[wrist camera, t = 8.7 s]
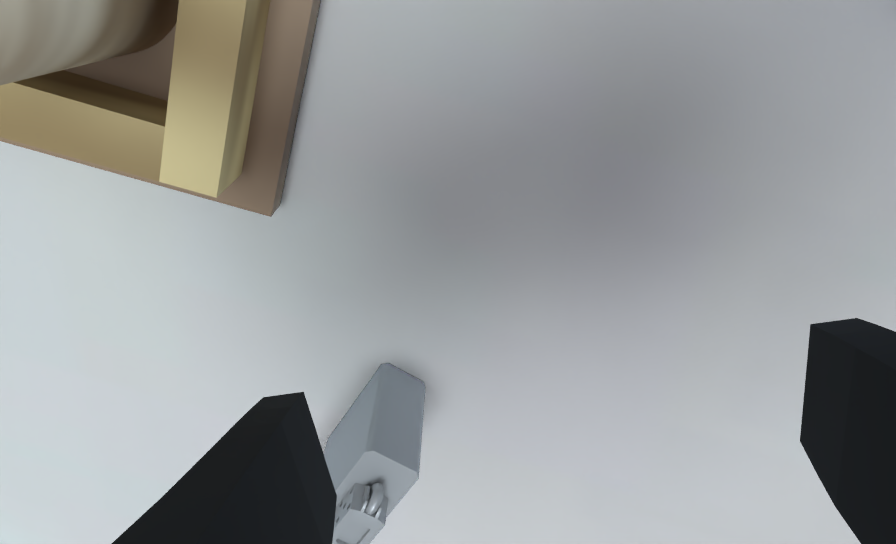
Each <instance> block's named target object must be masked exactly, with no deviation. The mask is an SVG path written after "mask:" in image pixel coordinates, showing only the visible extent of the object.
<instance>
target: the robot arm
mask: <svg viewBox="0 0 896 544" xmlns="http://www.w3.org/2000/svg"><path fill="white" fill-rule="evenodd" d="M800 442H801V444H802V446H803V447H804V449H805V451H806V453H807V455H808V457H809V459H810V461H811V463H812V465H813V467H814V469H815V471H816V473H817V475H818V477H819V478H820V480H821V482H822V484H823V485H824V487H825V489H826V491H827V493H828V494H829V496H830V498H831V500H832V502H833V503H834V505H835V507H836V508H837V510H838V511H839V513H840V514H841V516H842V517H843V518H844V520H845V521H846V523H847V524H848V526H849V527H850V528H851V530H852V531H853V533H854V534H855V535H856V537H857V538H858V540H859V541H860V543H861V544H896V332H894V331H892V330H889V329H886V328H884V327H881V326H878V325H876V324H873V323H870V322H867V321H864V320H861V319H858V318H855V319H847V320H840V321H832V322H825V323H817V324H811V326H810V337H809V348H808V359H807V370H806V381H805V392H804V403H803V414H802V425H801V436H800ZM336 501H337V495H336V492H335V489H334V485H333V482H332V479H331V476H330V473H329V470H328V467H327V464H326V460H325V457H324V454H323V451H322V448H321V445H320V442H319V439H318V436H317V432H316V429H315V426H314V423H313V420H312V417H311V414H310V411H309V407H308V404H307V401H306V398H305V395H304V392H300V393H293V394H285V395H278V396H270V397H264V398H262V399H261V400H260V401H259V402H258V403H257V404H256V405H254V406H253V407H252V408H251V409H250V410H249V411H248V412H247V413H246V414H245V415H244V416H243V417H242V418H241V419H240V420H239V421H238V422H237V423H236V424H235V425H234V426H233V427H232V428H231V429H230V430H229V431H228V432H227V433H226V434H225V435H224V436H223V437H222V438H221V439H220V440H219V441H218V442H217V443H216V444H215V445H214V446H213V447H212V448H211V449H210V450H209V451H208V452H207V453H206V454H205V455H204V456H203V457H202V458H201V459H200V460H199V461H198V462H197V463H196V464H195V465H194V466H193V467H192V468H191V469H190V470H189V471H188V472H187V473H186V474H185V475H184V476H183V477H182V478H181V479H180V480H179V481H178V482H177V483H176V484H175V485H174V486H173V487H172V488H171V489H170V490H169V491H168V492H167V493H166V494H165V495H164V496H163V497H162V498H161V499H160V500H159V501H157V502H156V503H155V504H154V505H153V506H152V507H151V508H150V509H149V510H148V511H147V512H146V513H144V514H143V515H142V516H141V517H140V518H139V519H138V520H137V521H136V522H135V523H134V524H132V525H131V526H130V527H129V528H128V529H127V530H126V531H125V532H124V533H123V534H122V535H121V536H119V537H118V538H117V539H116V540H115V541H114V542H113V543H112V544H332V541H333V532H334V522H335V511H336Z"/></svg>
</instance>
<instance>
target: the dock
mask: <svg viewBox="0 0 896 544" xmlns="http://www.w3.org/2000/svg"><path fill="white" fill-rule="evenodd" d="M320 1H321V0H179V5H178V14H177V22H176V24H175V26H174V27H173V28H172V30H171V31H170V32H169V33H168V34H167V35H166V36H165V37H164V38H163V39H162V40H161V41H159V42H158V43H157V44H155V45H153V46H152V47H150V48H148V49H145V50H142V51H139V52H135V53H131V54H127V55H123V56H119V57H115V58H111V59H107V60H102V61H98V62H94V63H90V64H86V65H82V66H78V67H74V68H69V69H65V70H61V71H57V72H53V73H49V74H45V75H41V76H36V77H32V78H28V79H24V80H20V81H16V82H12V83H8V84H3V85H0V141H2V142H6V143H10V144H13V145H17V146H20V147H24V148H27V149H31V150H35V151H38V152H42V153H45V154H49V155H52V156H56V157H60V158H63V159H67V160H70V161H74V162H77V163H81V164H85V165H88V166H92V167H95V168H99V169H102V170H106V171H110V172H113V173H117V174H120V175H124V176H127V177H131V178H134V179H138V180H142V181H145V182H149V183H152V184H156V185H159V186H163V187H167V188H170V189H174V190H177V191H181V192H184V193H188V194H192V195H195V196H199V197H202V198H206V199H209V200H213V201H217V202H220V203H224V204H227V205H231V206H234V207H238V208H242V209H245V210H249V211H252V212H256V213H259V214H263V215H267V216H270V217H271V216H272V215H273V213H274V212H275V211H276V209H277V208H278V207H279V205H280V202H281V197H282V192H283V187H284V182H285V177H286V171H287V166H288V161H289V156H290V151H291V146H292V141H293V136H294V131H295V126H296V121H297V116H298V111H299V106H300V101H301V96H302V91H303V86H304V81H305V76H306V71H307V66H308V61H309V56H310V51H311V46H312V41H313V36H314V31H315V26H316V21H317V16H318V11H319V6H320Z"/></svg>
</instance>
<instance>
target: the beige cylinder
mask: <svg viewBox="0 0 896 544" xmlns="http://www.w3.org/2000/svg"><path fill="white" fill-rule="evenodd" d="M178 5H179V0H0V85H3V84H8V83H12V82H16V81H20V80H24V79H28V78H32V77H36V76H41V75H45V74H49V73H53V72H57V71H61V70H65V69H69V68H74V67H78V66H82V65H86V64H90V63H94V62H98V61H102V60H107V59H111V58H115V57H119V56H123V55H127V54H131V53H135V52H139V51H142V50H145V49H148V48H150V47H152V46H153V45H155V44H157V43H158V42H159V41H161V40H162V39H163V38H164V37H165V36H166V35H167V34H168V33H169V32H170V31H171V30H172V28H173V27H174V26H175V24H176V22H177V14H178Z"/></svg>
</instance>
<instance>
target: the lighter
mask: <svg viewBox="0 0 896 544" xmlns="http://www.w3.org/2000/svg"><path fill="white" fill-rule="evenodd" d="M424 399H425V385H424V382H423V381H421V380H419V379H417V378H415V377H414V376H412V375H410V374H408V373H406V372H404V371H402V370H401V369H399V368H397V367H395V366H393V365H391V364H389V363H386V364H381V366H380V367H379V369H378V370H377V371H376V373H375V374H374V376H373V377H372V378H371V380H370V381H369V382H368V384H367V385H366V387H365V388H364V389H363V391H362V392H361V394H360V395H359V396H358V398H357V399H356V401H355V402H354V403H353V405H352V406H351V408H350V409H349V410H348V412H347V413H346V414H345V416H344V417H343V419H342V420H341V421H340V423H339V424H338V426H337V427H336V428H335V430H334V431H333V433H332V434H331V435H330V437H329V438H328V441H327V445H326V448H325V452H324V457H325V460H326V464H327V467H328V470H329V473H330V476H331V479H332V482H333V485H334V489H335V492H336V495H337V501H336V511H335V522H334V532H333V541H332V544H370V542H371V541H372V540H373V539H374V538H375V536H376V535H377V534H378V533H379V532H380V530H381V529H382V528H383V527H384V526H385V521H386V517H387V516H388V515H389V514H390V512H391V511H392V510H393V509H394V508H395V506H396V505H397V504H398V503H399V502H400V500H401V499H402V498H403V497H404V496H405V494H406V493H407V492H408V491H409V490H410V488H411V487H412V486H413V485H414V484H415V482H416V481H417V480H418V479H419V466H420V453H421V439H422V426H423V412H424Z"/></svg>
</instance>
